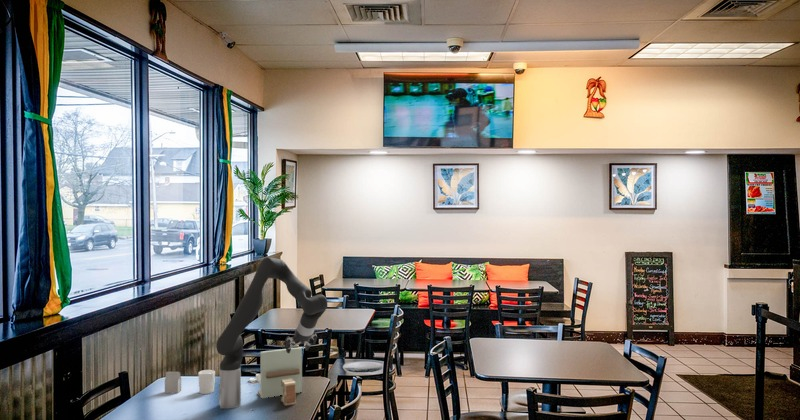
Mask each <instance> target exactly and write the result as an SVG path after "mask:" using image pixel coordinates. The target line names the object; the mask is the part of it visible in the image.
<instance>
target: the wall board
mask: <svg viewBox="0 0 800 420" xmlns="http://www.w3.org/2000/svg"><path fill="white" fill-rule="evenodd" d="M259 354H260V358H259V359H260V361H259V362H260V363H259V364H260V365H259V366H260V374H261V381H260V390H258V391H257V394H259V395H258V396H259V397H260V399H261V398H262V399H268V397H269V398H274V396H275V397H280V395H282V396H283V386H282V387H281V380H282V379H290V378H292V379H293V380H294V381H295V382H296V394H301V393H300V392H302V393H303V347H301V346H300V347H292V348H291V351H290V353H287V351H286V349H285V348H282V349H281V348H280V349H274V350H273V349H272V350H265V351H260V353H259Z"/></svg>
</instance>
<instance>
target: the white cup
mask: <svg viewBox="0 0 800 420" xmlns="http://www.w3.org/2000/svg"><path fill="white" fill-rule="evenodd" d="M215 379H216V371H215V370H214V369H203V370H200V371H198V387H199V393H200V394H202V395H203V394H204V395H208V394H211V393H213V392H215Z"/></svg>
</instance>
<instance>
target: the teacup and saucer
mask: <svg viewBox="0 0 800 420" xmlns="http://www.w3.org/2000/svg"><path fill="white" fill-rule="evenodd" d="M248 381H249V382H251V383H252V384H255V385H256V384H259V383H261V373H256V374H255V378H254V377H250V378H248Z"/></svg>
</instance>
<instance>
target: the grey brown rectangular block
mask: <svg viewBox="0 0 800 420" xmlns="http://www.w3.org/2000/svg"><path fill="white" fill-rule="evenodd" d="M165 372H166V373H165V378H164V394H179V393H181V392H182V377H181V376H182V375H181V372H180V371H165Z"/></svg>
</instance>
